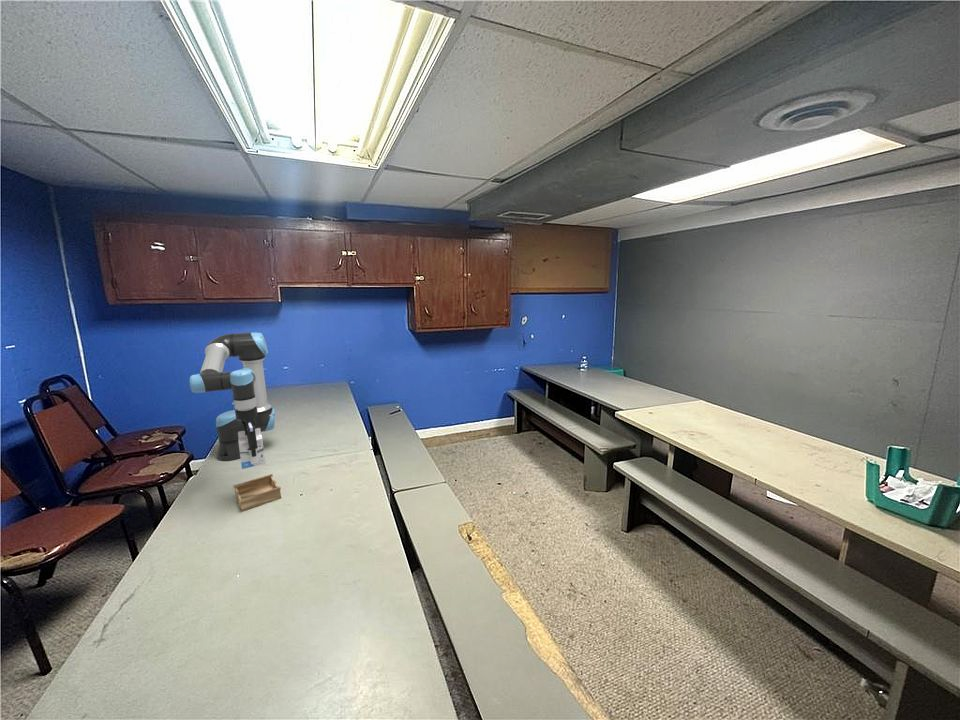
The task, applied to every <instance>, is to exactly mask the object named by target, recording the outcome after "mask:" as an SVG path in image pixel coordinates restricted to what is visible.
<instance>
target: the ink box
mask: <svg viewBox="0 0 960 720" xmlns="http://www.w3.org/2000/svg"><path fill="white" fill-rule="evenodd" d="M255 434H256V441H257V446H258V448H257V454H258V461H259V462H258V463H254V464H251V462H250V455H249V450H247V449H249V444H248V438H247V435H246V436H245V431H240V432H238V437H239V439H238V442H239V450H240V458H239V459H240V464H241V469H242V470H244V469H248V468H252V467H257V466H261V465H265V464H266V460H265V459H266V458H265V456H266V455H265V450H264V441H263V440H264V439H263V434H262V432H261V430H260V428H257V429H255Z"/></svg>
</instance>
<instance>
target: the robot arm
mask: <svg viewBox="0 0 960 720" xmlns="http://www.w3.org/2000/svg"><path fill="white" fill-rule="evenodd" d="M204 354H205V356H204V360H203V363H202V365H201V369H200V371H199V373H196V374H191V376H190V377H189V387H190V390H191V392H192V393H194V394H199V393H200V394H201V393H203V394H204V393H211V392H219V391H229V390H231V393H232V399H233V401H232V402H231V405H233V406H234V409H232V410H228V411H225V412H222V413H220V414H219V415H218V416H217V417H216V418H215V427H216V431H217V438H218V447H217V452H216V457H217V460H219V461H223V462H229V461H235V460H240V459H241V458H240V450H239V442H238V439H239V437H238V432H240V431H245V436H246V435H247V438H248V444H249V449H247V450H249V455H250V462H251V464H254V463H258V462H259V461H258V454H257V448H258V446H257V441H256V434H255V429H257V428H260V430H261V433H262V432H268V431H273V430H274V428H275V422H276V421H275V419H276V418H275V416H276V408H273V407H272V404H270V403H269V401H268V395H267V387H266V380H265V372H264V371H265V370H264V362H263V361H264V360H265V359H266V355H268V354H269V351H268V346H267V342H266V339H265V337H264V335H263V333H262V332H240V333H239V332H238V333H225V334H222V335H218V336H217V337H215V338H214V339H212V340H210V341H209V343H208V344H207V345H206V347H205V350H204ZM235 357H236V358H238V361H239V362H241V363H242V366H243V368H240V369H238V370H231V371H223V370H224V367H225V362H226V360H227V359H228V358H235Z"/></svg>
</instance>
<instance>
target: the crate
mask: <svg viewBox="0 0 960 720" xmlns="http://www.w3.org/2000/svg"><path fill="white" fill-rule="evenodd" d="M233 489H234V494H235V497H236V500H237V502H238V505H239V508H240V512H241V513H242V512H247V511H248V510H251V509H254V508H257V507H260V506H262V505H267V504H268V503H271V502H274V501H277V500H280V499H282V493H281V486H280V485H279V484H278V483H277V481H276V479H275V478H274V476H273V473H270V474H267V475H264V476H261V477H257V478H254V479H251V480H248V481H243V482H241V483H237V484H235V485H233Z"/></svg>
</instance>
